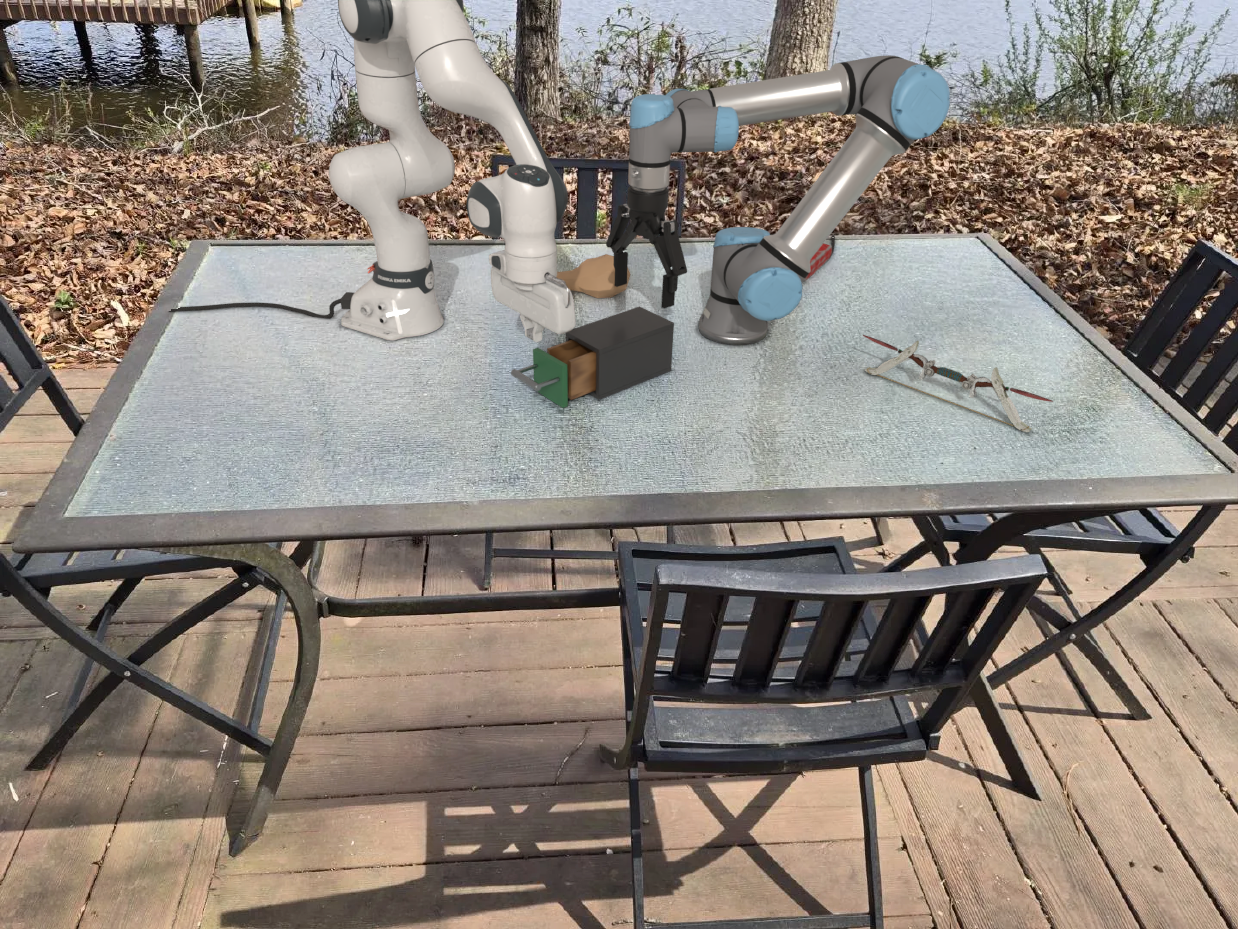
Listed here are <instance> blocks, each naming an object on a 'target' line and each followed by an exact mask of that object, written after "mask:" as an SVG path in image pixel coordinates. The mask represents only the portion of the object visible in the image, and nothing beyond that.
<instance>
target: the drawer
mask: <svg viewBox="0 0 1238 929" xmlns="http://www.w3.org/2000/svg"><path fill="white" fill-rule="evenodd" d="M531 370H533V379H532V378H530V377H529V376H527V375H525V373H526V372H529V371H531ZM510 375H511V376H512V377H513V378H515V379H517V380H518V381H520V382H521V383H523V384H524V385H526V386H528V387H529V388H531V389H532V390H534V391H535V392H536V393H538V394H540V395H541V396H543V397H545V398H546V399H548V400H549V401H550V402H553V404H556V405H557V406H558V407H560V408H562V409H565V408H567V407H568V405H569V401H568V400H570V401H572V400H575V399H578V398H580V397H583V396H585V395H587V394H588V393H590V392H593V391H595V390H596V352H594V351H592V350H590V349H588V348H587V347H585V346H583V345H581V344H579V343H578V342H576V341H574V340H569V341H567V342H566V341H563V342H560V343H558V344H555V345H553V346H549V347H547V348H546V351H545V350H543V349H542V348H539V347H535V348H532V364H531V365H528V366H526V367H522V368H519V369H516V368H513V369H512V370H511V371H510ZM588 395H589V394H588Z"/></svg>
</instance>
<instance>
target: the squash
mask: <svg viewBox="0 0 1238 929" xmlns="http://www.w3.org/2000/svg"><path fill="white" fill-rule="evenodd" d="M613 264H614V255H611V254H607V253H605V254H602V255H599V256H597V257H591V258H586V259H585V260H583V261H582V262H580V264H579V265H578V266H577V267H575V268H574V269H571V270H563V271H562V270H561V271H557V276H556V277H557V278H558V279H562V280H564V281H565V282H566V285H567V287H568V289H570V291H571V292H573V291H574V292H579V293H583V294H586V295H587V296H590V297H593V298H595V299H606V298H609V299H610V298H613V297H615V296H617V295H619V294H621V293H623V292H626V290H627V288H628V286H629V282H630V279H631V272H630V269H629V267H628V268H627V284H625V285H622V286H618V287H616V286H614V285H615V268H614V265H613Z"/></svg>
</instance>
